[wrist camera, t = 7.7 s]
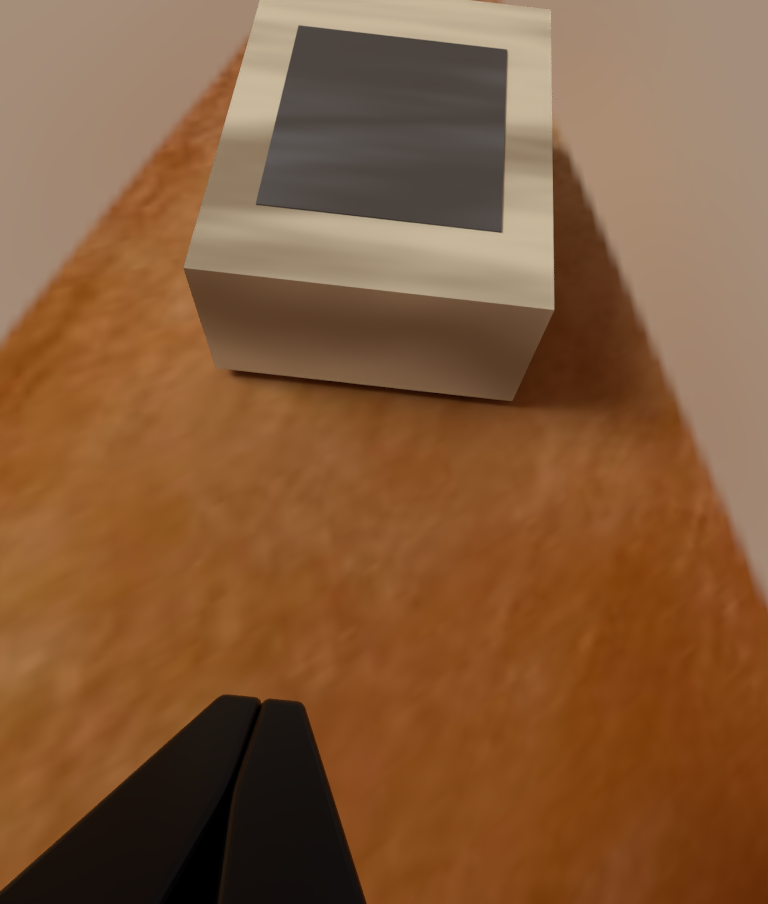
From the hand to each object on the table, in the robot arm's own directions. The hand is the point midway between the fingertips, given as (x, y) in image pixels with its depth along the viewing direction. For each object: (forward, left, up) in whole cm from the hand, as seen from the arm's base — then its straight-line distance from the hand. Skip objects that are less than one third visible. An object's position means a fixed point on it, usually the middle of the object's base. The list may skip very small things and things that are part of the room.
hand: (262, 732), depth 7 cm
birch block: (+11, 0, -9) cm, 15 cm away
